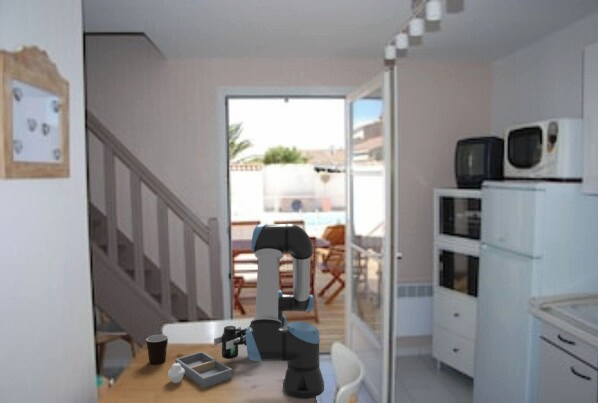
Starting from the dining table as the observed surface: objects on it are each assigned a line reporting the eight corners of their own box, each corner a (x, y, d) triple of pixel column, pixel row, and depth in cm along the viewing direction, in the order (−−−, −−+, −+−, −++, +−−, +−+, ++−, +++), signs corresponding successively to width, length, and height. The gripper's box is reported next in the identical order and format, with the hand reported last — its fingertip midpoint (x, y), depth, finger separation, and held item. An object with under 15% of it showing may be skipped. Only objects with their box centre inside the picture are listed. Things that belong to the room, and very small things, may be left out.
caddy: (232, 378, 162) (232, 369, 162) (203, 388, 154) (203, 378, 154) (202, 359, 180) (202, 351, 180) (175, 367, 172) (175, 359, 172)
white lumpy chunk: (167, 379, 161) (167, 361, 161) (184, 376, 164) (183, 358, 163) (168, 386, 156) (168, 367, 155) (185, 383, 158) (185, 365, 158)
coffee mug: (161, 366, 172) (161, 342, 172) (142, 365, 174) (142, 341, 174) (175, 355, 184) (175, 333, 183) (157, 354, 185) (157, 331, 185)
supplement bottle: (236, 359, 173) (236, 330, 173) (220, 359, 173) (220, 330, 173) (239, 352, 180) (239, 324, 179) (223, 352, 180) (223, 324, 179)
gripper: (276, 342, 184) (237, 358, 166) (244, 333, 196) (205, 347, 178) (276, 325, 184) (237, 339, 166) (244, 317, 196) (204, 329, 178)
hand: (220, 343), depth 172 cm, fingers closed on supplement bottle, 7 cm apart
